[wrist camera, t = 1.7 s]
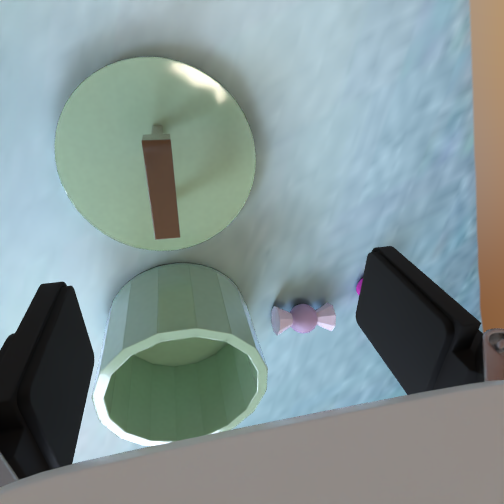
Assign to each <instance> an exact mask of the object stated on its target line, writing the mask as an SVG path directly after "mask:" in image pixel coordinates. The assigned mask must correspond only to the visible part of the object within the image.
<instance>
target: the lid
mask: <svg viewBox="0 0 504 504" xmlns="http://www.w3.org/2000/svg"><path fill="white" fill-rule="evenodd" d="M54 145H55V160H56V165H57V171H58V174H59V177H60V180H61V183H62V185H63V187H64V189H65V191H66V193H67V195H68V197H69V199H70V200H71V202H72V203H73V205H74V206H75V208H76V209H77V210H78V211H79V212H80V214H81V215H82V216H83V217H84V218H85V219H86V220H87V221H88V222H89V223H90V224H92V225H93V226H94V227H95V228H97V229H98V230H99V231H101V232H102V233H104V234H105V235H107V236H109V237H111V238H112V239H114V240H116V241H119V242H121V243H123V244H126V245H129V246H132V247H136V248H140V249H146V250H155V251H170V250H178V249H184V248H188V247H191V246H195V245H197V244H200V243H202V242H204V241H206V240H208V239H210V238H212V237H214V236H215V235H216V234H218V233H219V232H221V231H222V230H223V229H224V228H226V227H227V226H228V225H229V224H230V223H231V222H232V221H233V220H234V218H235V217H236V216H237V215H238V213H239V212H240V211H241V209H242V208H243V206H244V204H245V202H246V200H247V198H248V196H249V194H250V191H251V188H252V185H253V180H254V176H255V166H256V155H255V146H254V140H253V136H252V133H251V129H250V126H249V124H248V122H247V120H246V117H245V115H244V113H243V112H242V110H241V108H240V107H239V105H238V104H237V102H236V101H235V100H234V98H233V97H232V96H231V95H230V93H229V92H228V91H227V90H226V89H225V88H224V87H223V86H221V85H220V84H219V83H218V82H217V81H216V80H214V79H213V78H212V77H210V76H209V75H207V74H206V73H204V72H202V71H201V70H199V69H197V68H195V67H193V66H191V65H188V64H185V63H183V62H180V61H177V60H172V59H168V58H162V57H150V56H149V57H134V58H130V59H125V60H120V61H118V62H115V63H112V64H110V65H107V66H105V67H103V68H101V69H100V70H98V71H96V72H94V73H93V74H92V75H90V76H89V77H88V78H87V79H85V80H84V81H83V82H82V83H81V84H80V85H79V86H78V87H77V88H76V90H75V91H74V92H73V93H72V94H71V96H70V98H69V99H68V101H67V102H66V104H65V106H64V108H63V110H62V113H61V115H60V117H59V121H58V125H57V128H56V134H55V144H54Z"/></svg>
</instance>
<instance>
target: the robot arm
mask: <svg viewBox="0 0 504 504" xmlns="http://www.w3.org/2000/svg"><path fill="white" fill-rule="evenodd" d="M356 321H357V323H358V325H359V326H360V328H361V329H362V331H363V332H364V333H365V335H366V336H367V338H368V339H369V341H370V342H371V343H372V345H373V346H374V348H375V349H376V351H377V352H378V353H379V355H380V356H381V358H382V359H383V360H384V362H385V363H386V365H387V366H388V368H389V369H390V370H391V372H392V373H393V375H394V376H395V378H396V379H397V380H398V382H399V383H400V385H401V386H402V387H403V389H404V390H405V392H406V393H407V395H405V396H400V397H395V398H390V399H384V400H379V401H374V402H369V403H364V404H359V405H353V406H348V407H343V408H338V409H333V410H328V411H323V412H318V413H313V414H308V415H303V416H298V417H293V418H288V419H283V420H278V421H273V422H268V423H263V424H258V425H253V426H248V427H243V428H238V429H233V430H228V431H223V432H219V433H214V434H209V435H204V436H199V437H194V438H189V439H184V440H180V441H175V442H170V443H165V444H160V445H155V446H150V447H146V448H141V449H137V450H132V451H127V452H123V453H118V454H114V455H109V456H105V457H100V458H96V459H91V460H87V461H82V462H78V463H74V464H72V462H73V457H74V453H75V448H76V444H77V439H78V435H79V430H80V426H81V421H82V416H83V412H84V407H85V403H86V398H87V394H88V389H89V385H90V380H91V375H92V371H93V366H94V353H93V349H92V346H91V343H90V339H89V336H88V333H87V330H86V326H85V323H84V320H83V317H82V313H81V310H80V307H79V303H78V300H77V297H76V294H75V290H74V288H73V286H67V285H66V284H65V282H56V283H47V284H41V285H40V287H39V289H38V290H37V292H36V294H35V296H34V298H33V300H32V302H31V304H30V306H29V308H28V310H27V312H26V314H25V316H24V317H23V319H22V321H21V323H20V325H19V327H18V329H17V331H16V333H14V334H11V335H10V336H9V337H8V338H7V339H6V341H5V343H4V345H3V346H2V348H1V350H0V504H504V329H490V330H487V331H486V332H485V333H482V332H481V331H479V330H478V329H479V327H480V324H481V323H480V322H479V321H478V320H477V319H476V318H475V317H474V316H472V315H471V314H470V313H469V312H468V311H467V310H465V309H464V308H463V307H462V306H461V305H460V304H459V303H457V302H456V301H455V300H454V299H453V298H452V297H450V296H449V295H448V294H447V293H446V292H445V291H444V290H442V289H441V288H440V287H439V286H438V285H437V284H435V283H434V282H433V281H432V280H431V279H430V278H429V277H427V276H426V275H425V274H424V273H423V272H422V271H420V270H419V269H418V268H417V267H416V266H415V265H413V264H412V263H411V262H410V261H409V260H408V259H407V258H405V257H404V256H403V255H402V254H401V253H400V252H398V251H397V250H396V249H395V248H394V247H392V246H387V247H377V248H374V249H373V250H372V252H370V253H369V254H368V256H367V261H366V266H365V271H364V276H363V281H362V286H361V290H360V295H359V300H358V305H357V310H356Z"/></svg>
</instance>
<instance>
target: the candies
mask: <svg viewBox="0 0 504 504" xmlns="http://www.w3.org/2000/svg"><path fill="white" fill-rule="evenodd" d="M362 281H363V278H362V279H361V280H360V281H359V283H358V285H357V288H356V291H357V293H358V295H360V290H361V286H362ZM271 322H272V327H273V331H274V333H275V334H276V335H278V334H280V333H282V332H283V331H285V330H286V329H288V328H289V327H292V328H293V329H294V330H295V331H297V332H299V333H308V332H310V331H312V330H313V329H314V328H315V327H316V325H319V326H321V327H323V328H325V329H328V330H330V331H332V330H333V328H334V327H335V322H336V314H335V312H334V309H333V306H332V305H331V304H329V303H326V304H325V305H323V306H321V307H320V308H318V309H317V310H314V309H313V308H312V307H311V306H309V305H307V304H299V305H296V306H295V307H293V308H292V309H291V311H290V313H289V312H287V311H285V310H283V309H280V308H278V307H276V306H274V307H273V309H272V316H271Z"/></svg>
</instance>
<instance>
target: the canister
mask: <svg viewBox="0 0 504 504" xmlns="http://www.w3.org/2000/svg"><path fill="white" fill-rule="evenodd" d="M267 370H268V369H267V365H266V362H265V359H264V356H263V353H262V350H261V347H260V344H259V341H258V338H257V335H256V332H255V329H254V326H253V323H252V320H251V317H250V314H249V311H248V308H247V305H246V303H245V301H244V299H243V297H242V295H241V292H240V291H239V289H238V288H237V286H236V285H235V284H234V283H233V282H232V281H231V280H230V279H229V278H228V277H227V276H225V275H224V274H222V273H220V272H219V271H217V270H214V269H212V268H209V267H206V266H203V265H198V264H191V263H173V264H167V265H162V266H158V267H155V268H152V269H150V270H147V271H145V272H143V273H141V274H139V275H137V276H136V277H134V278H133V279H132V280H130V281H129V282H128V283H127V284H126V285H125V286H123V287H122V289H121V290H120V291H119V292H118V294H117V295H116V297H115V299H114V300H113V302H112V305H111V308H110V312H109V316H108V319H107V322H106V327H105V332H104V337H103V343H102V348H101V353H100V358H99V363H98V368H97V373H96V378H95V383H94V388H93V393H92V400H93V403H94V406H95V410H96V413H97V416H98V419H99V420H100V422H101V423H102V424H104V425H105V426H106V427H107V428H108V429H109V430H111V431H112V432H113V433H114V434H115V435H116V436H118V437H119V438H122V439H125V440H128V441H131V442H134V443H137V444H140V445H143V446H155V445H160V444H165V443H170V442H175V441H180V440H184V439H189V438H194V437H199V436H204V435H209V434H214V433H219V432H223V431H228V430H231V429H233V428H235V427H236V426H237V425H238V424H239V423H241V422H242V421H243V420H244V419H245V418H247V417H248V416H249V415H250V414H251V413H253V412H254V411H255V409H256V407H257V405H258V404H259V402H260V400H261V399H262V397H263V395H264V394H265V392H266V389H267Z"/></svg>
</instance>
